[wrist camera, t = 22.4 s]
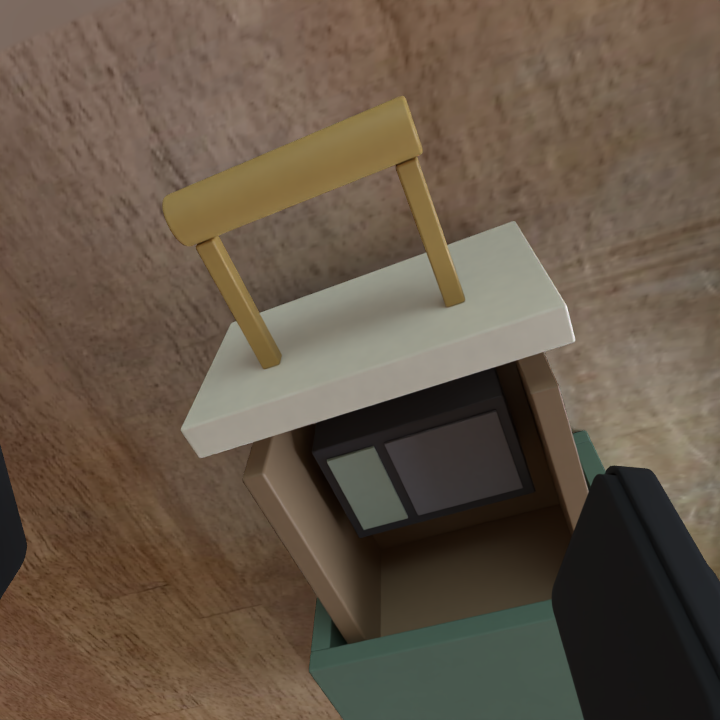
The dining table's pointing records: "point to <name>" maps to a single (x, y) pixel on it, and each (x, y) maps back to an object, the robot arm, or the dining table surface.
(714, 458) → the dining table surface
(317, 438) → the calculator
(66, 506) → the dining table surface
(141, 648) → the dining table surface
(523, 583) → the drawer
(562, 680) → the cabinet
